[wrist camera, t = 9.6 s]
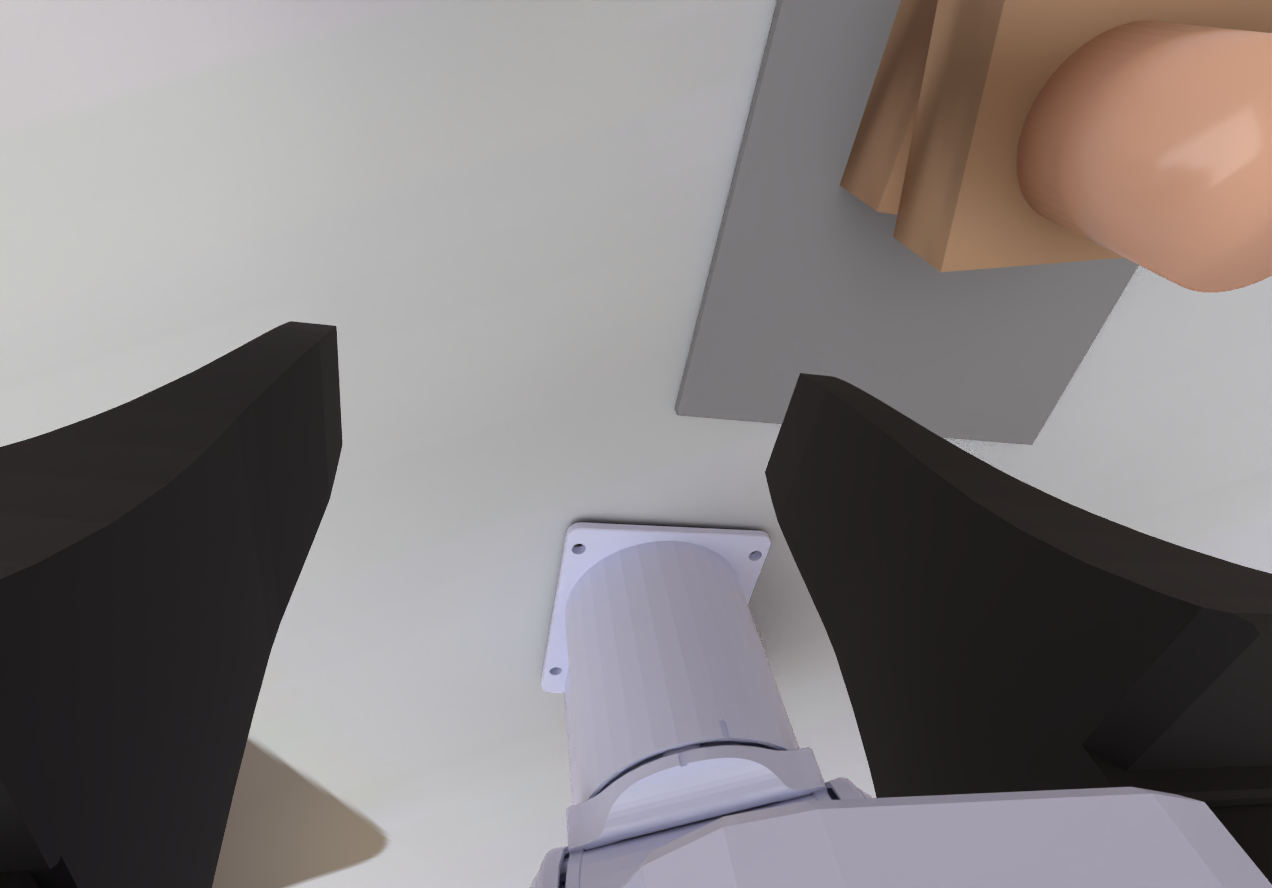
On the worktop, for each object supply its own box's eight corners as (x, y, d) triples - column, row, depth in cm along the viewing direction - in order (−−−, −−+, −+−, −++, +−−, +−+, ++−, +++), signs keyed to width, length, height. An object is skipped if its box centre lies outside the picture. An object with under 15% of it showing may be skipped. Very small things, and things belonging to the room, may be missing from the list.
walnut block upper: (1105, 221, 19) (1176, 253, 17) (893, 237, 18) (940, 272, 16) (1203, -52, 16) (1306, -52, 14) (946, -43, 15) (1014, -42, 13)
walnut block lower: (1020, 215, 21) (1073, 243, 19) (839, 185, 20) (876, 211, 18) (1132, -19, 18) (1211, -15, 16) (925, -74, 17) (982, -77, 15)
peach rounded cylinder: (1139, 230, 16) (1293, 298, 13) (986, 216, 16) (1110, 285, 12) (1241, 34, 14) (1457, 59, 11) (1070, 6, 14) (1247, 24, 10)
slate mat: (1025, 438, 27) (1032, 444, 27) (674, 408, 24) (677, 415, 24) (1321, -68, 18) (1336, -69, 18) (832, -218, 15) (839, -222, 15)
